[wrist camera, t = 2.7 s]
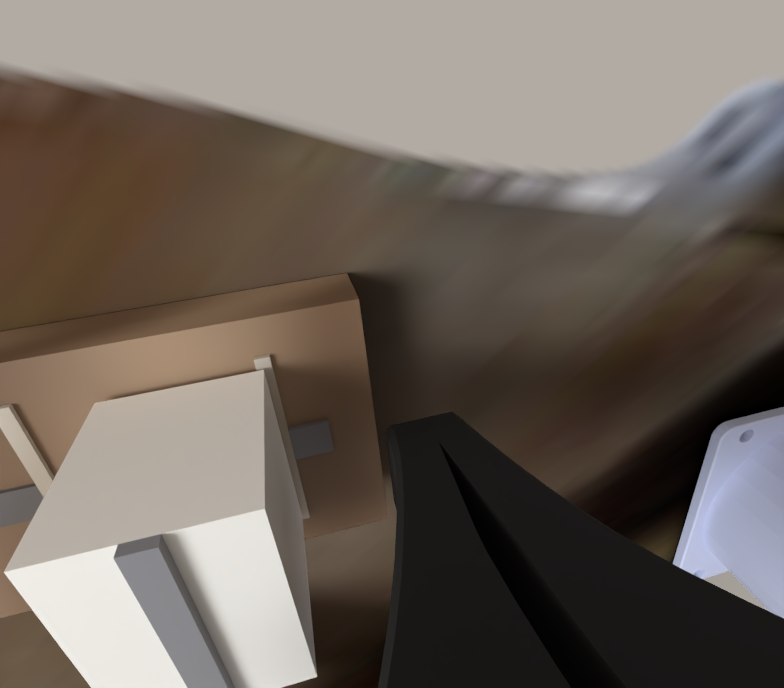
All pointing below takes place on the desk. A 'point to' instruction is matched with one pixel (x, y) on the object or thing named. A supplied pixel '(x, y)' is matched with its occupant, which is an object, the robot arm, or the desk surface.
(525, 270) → the desk surface
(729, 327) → the desk surface
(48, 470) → the fader board
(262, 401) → the fader tab
